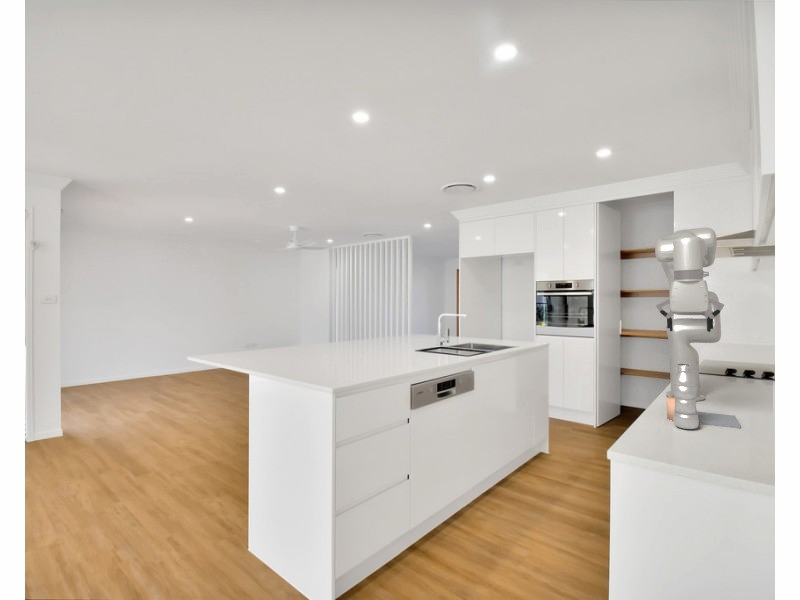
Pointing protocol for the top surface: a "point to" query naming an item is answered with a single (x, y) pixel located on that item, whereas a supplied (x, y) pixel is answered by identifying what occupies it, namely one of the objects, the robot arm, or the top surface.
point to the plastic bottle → (685, 398)
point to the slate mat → (718, 419)
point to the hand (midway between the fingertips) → (689, 331)
